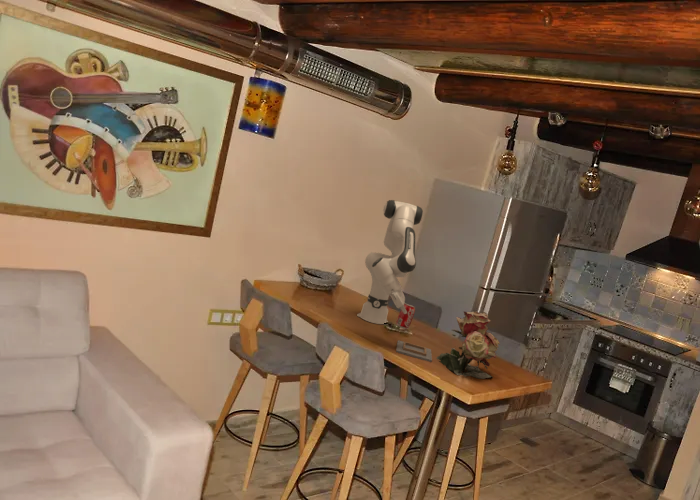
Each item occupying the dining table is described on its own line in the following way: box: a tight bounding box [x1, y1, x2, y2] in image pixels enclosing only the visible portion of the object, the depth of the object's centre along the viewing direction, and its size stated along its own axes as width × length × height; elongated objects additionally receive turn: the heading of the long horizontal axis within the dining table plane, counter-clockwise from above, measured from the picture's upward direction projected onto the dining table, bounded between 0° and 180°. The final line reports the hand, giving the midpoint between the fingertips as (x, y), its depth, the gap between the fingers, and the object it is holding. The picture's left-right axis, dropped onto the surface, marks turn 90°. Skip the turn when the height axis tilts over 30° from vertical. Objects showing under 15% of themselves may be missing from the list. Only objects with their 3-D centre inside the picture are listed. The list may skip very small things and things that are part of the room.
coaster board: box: [395, 340, 433, 363], centre depth 316 cm, size 20×18×2 cm
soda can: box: [395, 302, 416, 330], centre depth 313 cm, size 7×7×12 cm
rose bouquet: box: [436, 311, 501, 380], centre depth 307 cm, size 26×29×30 cm
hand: (406, 311), depth 313 cm, fingers closed on soda can, 7 cm apart
